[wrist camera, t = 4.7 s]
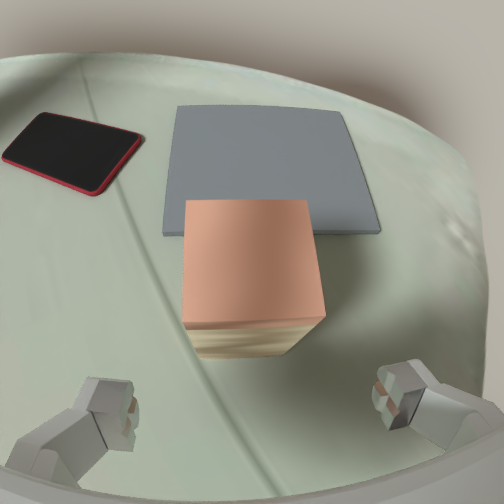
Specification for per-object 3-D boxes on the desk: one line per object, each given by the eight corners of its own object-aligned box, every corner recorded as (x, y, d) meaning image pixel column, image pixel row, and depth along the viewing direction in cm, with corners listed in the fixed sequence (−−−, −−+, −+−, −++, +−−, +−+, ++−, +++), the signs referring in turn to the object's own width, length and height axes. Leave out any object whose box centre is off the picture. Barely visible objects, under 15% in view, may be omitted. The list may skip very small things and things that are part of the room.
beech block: (199, 359, 19) (182, 321, 11) (198, 282, 21) (185, 200, 13) (281, 355, 19) (325, 316, 11) (274, 280, 21) (306, 199, 13)
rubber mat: (163, 236, 22) (162, 232, 22) (178, 110, 28) (177, 106, 28) (377, 233, 24) (380, 229, 23) (338, 116, 30) (339, 111, 30)
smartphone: (41, 110, 27) (144, 134, 26) (44, 116, 28) (145, 141, 27) (-2, 157, 24) (95, 195, 23) (1, 163, 25) (98, 202, 23)
